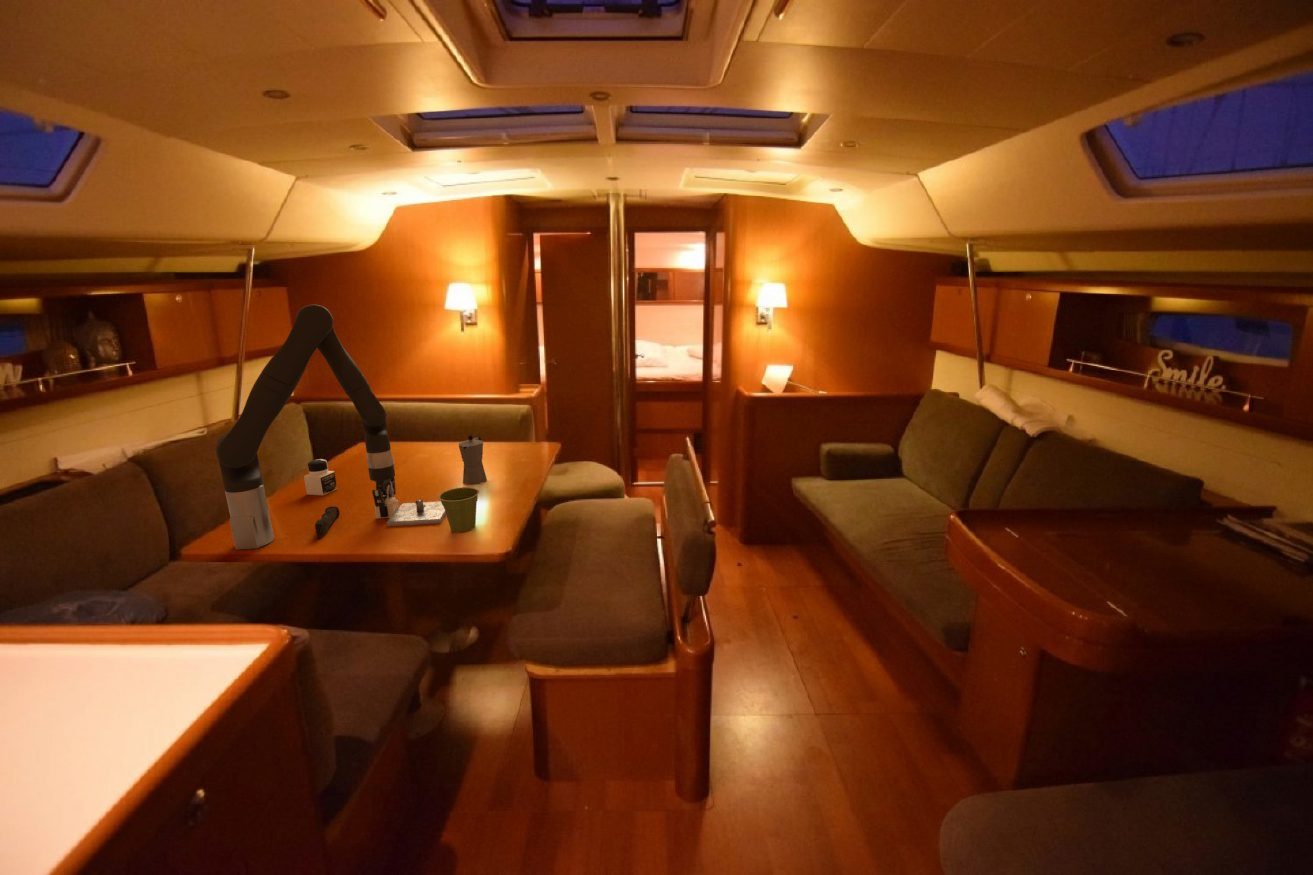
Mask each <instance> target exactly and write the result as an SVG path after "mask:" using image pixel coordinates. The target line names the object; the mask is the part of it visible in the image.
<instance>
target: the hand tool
mask: <svg viewBox="0 0 1313 875" xmlns="http://www.w3.org/2000/svg"><path fill="white" fill-rule="evenodd" d="M340 514H341V513H340V509H339V507H338V506H331V505H330V506H328V507H326V508H325V510H324V513H323V514H322V515H321V517H320V519H317V521H316V522H315V523H314V528H315V529H314V530H315V534H316V536H317V537H316V538H317V539H318V540H320V539H322V538H323V537H325V535H327V533H328V529H329V528H330V526H332V524H333V522H334V521H335V520H336V518H338V517H339V516H340Z"/></svg>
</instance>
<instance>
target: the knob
mask: <svg viewBox="0 0 1313 875" xmlns="http://www.w3.org/2000/svg"><path fill="white" fill-rule="evenodd" d="M396 498H397V497H395V496H394V497H390V496H389V498H388V499H387V509H388V516H387V517H381V516H380V510H379V507H376V506H374V513H375V519H390V517H391V516H392V515H393V514H394V513H395V512H396V511H397V509H398V508H399V507H400V503H399V500H398V499H396ZM377 501H378V500H377Z"/></svg>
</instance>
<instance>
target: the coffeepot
mask: <svg viewBox="0 0 1313 875" xmlns="http://www.w3.org/2000/svg"><path fill="white" fill-rule="evenodd" d="M467 437H468V439H467V440H463V441H460V442H459V443H458V448H459V451H460V455H461V460H462V462H463V472H462V474H463V475H462V476H463V477H462V484H464V485H468V486H469V485H471V486H472V485H473V486H475V485H479V484H483V483H485V482H487V475H486V474H487V473H486V472H485V471H486V470H485V467H484V464H483V453H484V452H483V451H484V450H483V449H484V441H483V440H482V439H481V437H480V436H475V437H474V438H473V434H472V435H471V434H469V435H467Z"/></svg>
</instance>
